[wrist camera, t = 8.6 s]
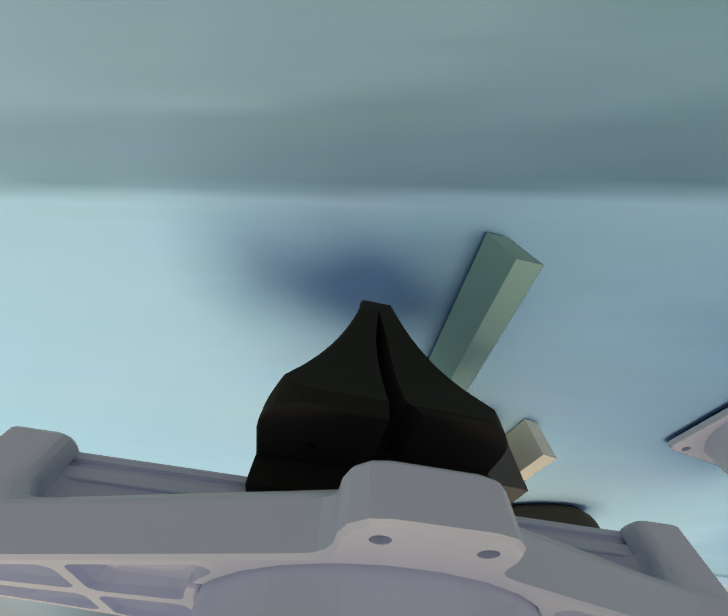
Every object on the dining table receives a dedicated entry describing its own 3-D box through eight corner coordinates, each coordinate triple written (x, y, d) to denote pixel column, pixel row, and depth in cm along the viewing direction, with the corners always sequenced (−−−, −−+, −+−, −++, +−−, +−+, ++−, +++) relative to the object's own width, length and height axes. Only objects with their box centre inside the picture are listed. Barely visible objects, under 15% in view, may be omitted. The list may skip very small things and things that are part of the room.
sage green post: (484, 231, 12) (513, 258, 9) (510, 238, 12) (546, 265, 9) (416, 383, 17) (422, 426, 14) (434, 386, 17) (444, 430, 15)
